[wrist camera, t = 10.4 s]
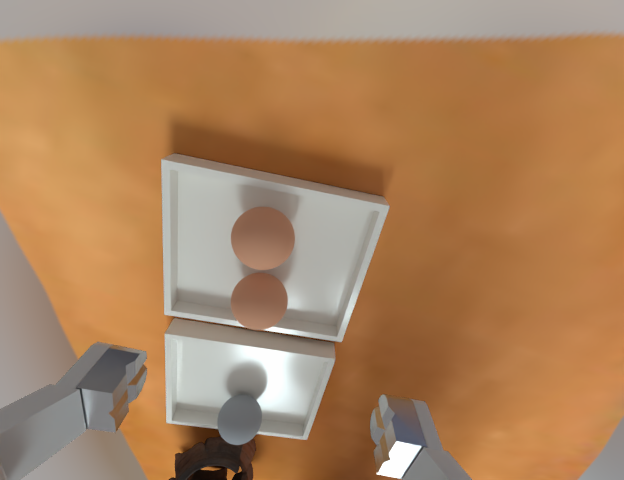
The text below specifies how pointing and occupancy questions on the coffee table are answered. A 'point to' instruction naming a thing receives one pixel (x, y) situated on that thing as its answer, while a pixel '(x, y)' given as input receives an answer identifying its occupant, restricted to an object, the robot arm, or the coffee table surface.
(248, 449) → the pottery mug
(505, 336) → the coffee table surface
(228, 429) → the ball grey
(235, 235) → the terracotta ball
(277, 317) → the terracotta ball
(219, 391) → the dish
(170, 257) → the dish
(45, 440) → the robot arm
